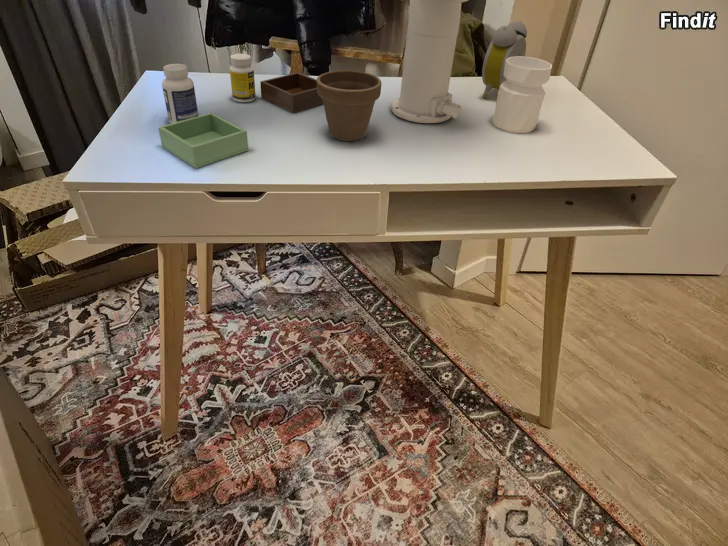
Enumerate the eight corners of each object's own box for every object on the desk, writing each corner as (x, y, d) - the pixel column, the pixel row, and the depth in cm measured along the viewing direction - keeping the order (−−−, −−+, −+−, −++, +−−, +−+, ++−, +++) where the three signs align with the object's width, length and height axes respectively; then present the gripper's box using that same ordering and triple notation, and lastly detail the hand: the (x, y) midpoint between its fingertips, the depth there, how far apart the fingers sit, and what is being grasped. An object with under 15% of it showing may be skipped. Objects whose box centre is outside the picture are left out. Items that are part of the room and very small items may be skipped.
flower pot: (316, 121, 97) (316, 67, 90) (374, 122, 98) (378, 69, 91) (316, 146, 88) (316, 89, 81) (380, 148, 89) (385, 91, 83)
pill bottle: (205, 118, 94) (197, 65, 88) (188, 128, 90) (179, 73, 84) (180, 113, 96) (171, 60, 90) (162, 123, 92) (152, 68, 85)
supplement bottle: (253, 103, 102) (250, 60, 96) (230, 102, 102) (225, 59, 96) (257, 95, 105) (254, 53, 100) (235, 94, 105) (231, 52, 100)
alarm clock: (496, 85, 120) (511, 17, 111) (523, 92, 117) (541, 23, 108) (475, 98, 112) (489, 25, 103) (503, 105, 110) (520, 32, 100)
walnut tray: (330, 101, 105) (330, 84, 103) (293, 113, 99) (292, 95, 97) (298, 88, 110) (298, 72, 108) (261, 98, 104) (260, 81, 102)
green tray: (248, 150, 85) (246, 130, 83) (195, 168, 79) (192, 147, 77) (214, 131, 90) (211, 112, 88) (162, 146, 84) (158, 126, 82)
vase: (522, 137, 97) (539, 73, 89) (483, 123, 101) (497, 61, 94) (542, 125, 102) (561, 64, 94) (505, 112, 106) (519, 53, 99)
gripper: (99, -126, 64) (128, 20, 75) (215, -118, 75) (226, 8, 85) (74, -130, 68) (105, 9, 79) (188, -122, 78) (202, 0, 89)
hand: (168, 9), depth 82 cm, fingers open, 9 cm apart
